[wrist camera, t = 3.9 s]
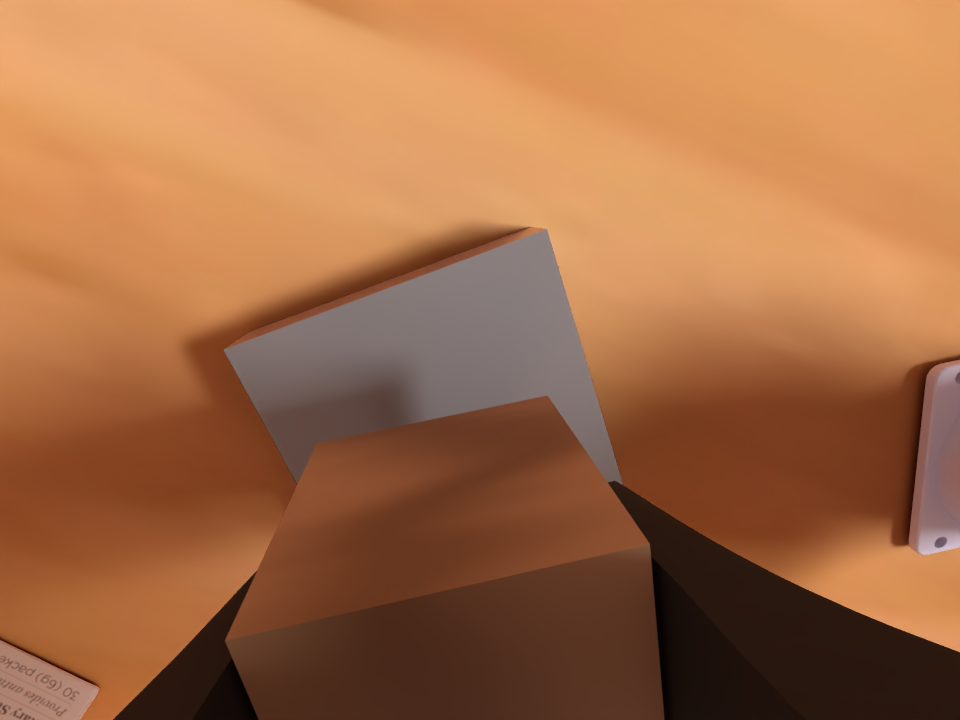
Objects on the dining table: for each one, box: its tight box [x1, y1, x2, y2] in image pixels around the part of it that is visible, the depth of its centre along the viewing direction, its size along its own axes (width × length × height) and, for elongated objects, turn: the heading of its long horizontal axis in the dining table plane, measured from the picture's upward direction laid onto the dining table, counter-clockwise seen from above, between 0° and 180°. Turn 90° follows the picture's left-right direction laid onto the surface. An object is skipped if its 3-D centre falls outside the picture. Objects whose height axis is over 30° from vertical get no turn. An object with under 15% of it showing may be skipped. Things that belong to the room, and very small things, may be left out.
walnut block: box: [225, 395, 664, 720], centre depth 9 cm, size 5×5×5 cm
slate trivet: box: [224, 227, 623, 485], centre depth 15 cm, size 9×9×2 cm
